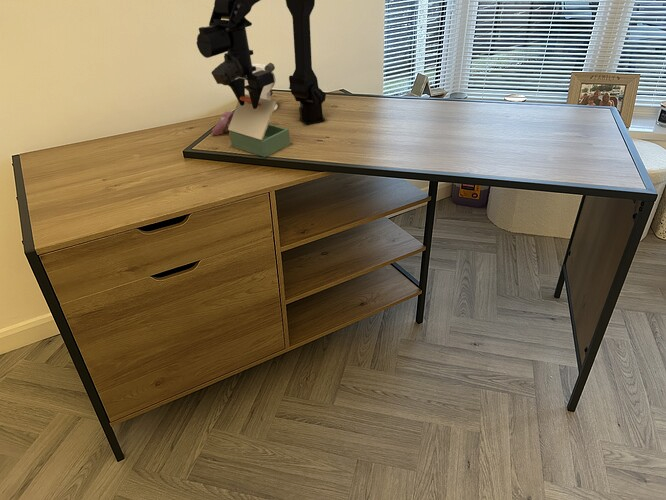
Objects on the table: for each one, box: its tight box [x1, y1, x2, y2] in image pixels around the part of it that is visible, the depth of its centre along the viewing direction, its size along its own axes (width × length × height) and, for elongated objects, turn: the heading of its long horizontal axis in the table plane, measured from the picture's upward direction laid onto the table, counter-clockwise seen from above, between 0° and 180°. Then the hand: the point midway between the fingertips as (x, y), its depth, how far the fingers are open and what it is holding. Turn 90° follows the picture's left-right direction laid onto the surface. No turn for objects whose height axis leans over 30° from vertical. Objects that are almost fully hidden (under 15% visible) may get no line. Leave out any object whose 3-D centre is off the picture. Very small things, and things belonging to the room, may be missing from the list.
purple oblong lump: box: [211, 109, 234, 136], centre depth 152 cm, size 10×5×7 cm, turn 168°
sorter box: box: [228, 123, 291, 158], centre depth 141 cm, size 10×14×5 cm
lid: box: [227, 93, 277, 140], centre depth 134 cm, size 11×14×4 cm
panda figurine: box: [245, 62, 278, 111], centre depth 164 cm, size 12×11×15 cm
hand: (248, 106), depth 134 cm, fingers closed on lid, 5 cm apart
